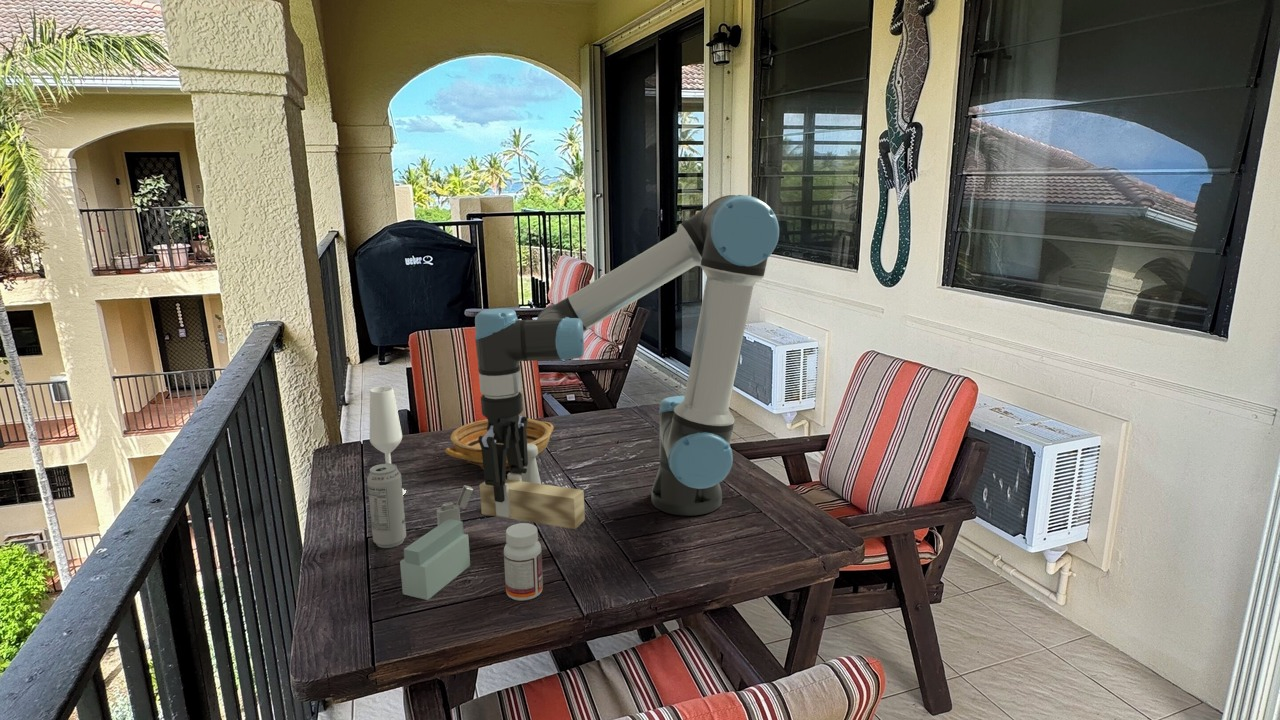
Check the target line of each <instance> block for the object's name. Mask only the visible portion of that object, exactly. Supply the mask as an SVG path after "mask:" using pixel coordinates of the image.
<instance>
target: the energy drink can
mask: <svg viewBox="0 0 1280 720" xmlns="http://www.w3.org/2000/svg"><path fill="white" fill-rule="evenodd" d="M366 482H367V490H368V491H367V492H368V494H367V495H368V501H369V502H368V503H369V512H370V522H371V532H372V534H371V535H372V541H373V543H374V544H376V546H377V547H378V548H382V549H391V548H395V547H398V546H400V545H402V544H403V542H404V540H405V539H406V537H407V528H406V516H405V514H406V513H405V506H404V505H405V504H404V496H403V491H402V488H403V484H402V483H403V481H402V474H401V472H400V471H399V470H398V466H397V464H394V463H391V464H390V463H386V462H385V463H380V464H376V465H373V466H372V467H371V468H369V473H368V476H367V478H366Z"/></svg>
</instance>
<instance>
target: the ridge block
mask: <svg viewBox="0 0 1280 720" xmlns="http://www.w3.org/2000/svg"><path fill="white" fill-rule="evenodd" d="M469 544H470V542H469V534H466V533H464V522H463V521H462V520H460V521H458V520H453V519H447V520H446V521H444V522H443V523H441V524H440V525H438V524H437V525H436V526H435V527H434V528H432V529H431V530H430V531H428V532H427V533H425V534H424V535H422V536H420V537H419V538H417V539H416V540H415V541H414V542H413V541H412V543H411V544H409V545H408V546H406V547H405V548H403V557H404V558H403V559H401V560H400V561H399V564H400V567H399V569H400V577H401V578H400V579H401V585H402V586H401V589H402V595H405V596H409V597H414V598H416V599H417V598H418V599H420V600H421V599H422V600H424V601H425V600H426V601H428V600H430V599H431V598H433V597H434V596H435V595H436V594H438V592H440V591H441V590H442V589H443V588H444V587H446V586H447V585H448V584H450V583H451V582H452V581H453V580H455V579H456V578H457V577H458V576H459V575H461V574H462V573H463V572H465V571H466V570H467V569H468V568H469V567H471V558H470V555H471V554H470V545H469Z"/></svg>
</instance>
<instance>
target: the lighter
mask: <svg viewBox="0 0 1280 720" xmlns="http://www.w3.org/2000/svg"><path fill="white" fill-rule="evenodd" d="M473 490H474V489H473V487H471V486H470V485H465V484H464V485H463V486H462V489H461V492H460V493H459V496H458V500H457V502H456V504H454V503H453V502H452V501H449V502H446V503H442V505H441V506H440V508H438V509H436V518H437V519H436V520H437V526H438V525H440V524H441V523H443V522H444V521H446V520H447V519H453V520H458V521H461V511H460V508H462V509H466V508H467V505H468V504H469V501H470V498H471V495H472V494H473Z"/></svg>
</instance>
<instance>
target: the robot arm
mask: <svg viewBox="0 0 1280 720" xmlns="http://www.w3.org/2000/svg"><path fill="white" fill-rule="evenodd" d="M779 237H780V226H779V221H778V219H777V216H776V214H775V212H774V211H773V209H772V208H771V206H769V205H768V204H767V203H765V202H764V201H762V200H761V199H759V198H757V197H755V196H751V195H744V194H743V195H742V194H737V195H735V194H733V195H730V194H729V195H723V196H721V197H718V198H716V199H715V200H713V201H712V202H710V203H709V204H707V205H706V206H704V207H703V208H702V209H701V210H699V211H698V212H696V213H695V214H694V215H692V216H691V217H689V218H687V219H686V220H685V221H683V222H681V223H679V224H678V226H677V231H676V232H674V233H673V234H671V235H670V236H668V237H666V238H665V239H663V240H661V241H660V242H658V243H656V244H654V245H653V246H651V247H649V248H647V249H646V250H644V251H643V252H642V253H640V254H637V255H636V256H635V257H633V258H630V259H629V260H628V261H626V262H624V263H623V264H621V265H619V266H618V267H616V268H614V269H613V270H610V271H609V272H607V273H606V274H604V275H602V276H601V277H599V278H596V280H594V281H592V282H590V283H589V284H587V285H585V286H584V287H582V288H581V289H579V290H577V291H575V292H574V293H572V294H571V295H570V294H569V295H568V296H567V297H565V298H564V299H562V300H560V301H558V302H557V303H554V304H550V305H549V306H546V307H545V308H543V309H542V310H541V311H540V312H539V314H538V315H537V318H536V319H518V316H517V313H516V311H515V310H514V309H512V308H500V307H499V308H489V309H484V310H481V311H479V312H478V313H477V314H476V315H475V318H474V324H475V325H474V327H475V329H474V330H475V336H474V339H475V347H476V349H475V350H476V357H477V368H478V376H479V377H478V379H479V391H480V394H481V396H480V407H481V413H482V415H483V416H484V418H486V419H488V425H487V431H488V432H487V433H486V434H485V436H479V439H478V441H479V443H480V446H481V450H482V459H483V468H484V469H483V468H482V469H483V476H484V481H485V484H486V485H490V486H493V487H494V496H495V497H494V499H495V504H496V515H497V516H503V517H510V516H511V512H510V499H509V485H508V484H507V483H505V481H506V478H507V479H508V480H515V481H522V473H526V472H527V469H525V468H524V466H527V465H528V453H527V432H526V428H527V418H528V417H527V416H521V415H520V414H522V412H524V411H523V410H524V406H523V394H522V393H521V391H522V389H523V388H522V387H523V386H522V377H521V364H520V362H534V361H559V360H561V361H568V360H573V359H575V360H576V359H580V358H582V357H583V356H584V354H585V344H584V343H585V341H584V340H585V339H584V337H585V336H584V332H585V331H587V330H588V329H590V328H591V327H594V326H595V325H597V324H599V323H600V322H602V321H604V320H606V319H607V318H608V317H610V316H612V315H614V314H616V313H617V312H619V311H621V310H623V309H624V308H626V307H627V306H629V305H631V304H633V303H634V302H636V301H638V300H640V299H641V298H643V297H644V296H646V295H649V293H650V294H651V292H653V291H655V290H656V289H658V288H661V286H664V284H667V283H669V282H670V281H672V280H674V279H675V278H677V277H679V276H681V275H682V274H684V273H686V272H688V271H689V270H691V269H692V268H694V267H697V266H698V267H700V268H701V269H702V271H703V272H704V274H705V276H706V279H705V285H704V290H703V291H704V292H703V296H702V302H701V307H700V311H699V317H698V323H697V328H696V333H695V339H694V343H693V350H692V354H691V360H690V364H689V365H690V366H689V372H688V377H687V382H686V387H685V391H684V392H685V393H684V395H677V396H676V395H675V396H674V395H673V396H669V397H665V398H664V399H662V400H661V401H660V403H659V411H658V415H659V467H658V470H657V472H656V476H655V478H654V481H653V483H652V484H653V485H652V487H651V491H650V492H651V493H650V494H651V495H650V497H651V500H650V501H651V505H653V506H654V508H656V509H658V510H660V511H662V512H664V513H667V514H671V515H676V516H685V517H686V516H687V517H688V516H700V515H705V514H710V513H712V512H714V511H716V510H717V509H719V508H720V507H721V506H722V502H723V492H722V488H721V485H720V483H721V482H723V481H724V480H725V479H726V478H727V476H728V475H729V474H730V472H731V469H732V467H733V463H734V462H733V460H734V459H733V450H732V448H731V441H732V435H733V432H734V431H733V430H734V426H735V419H736V418H735V417H734V416H733V414H732V413H731V411H730V404H731V399H732V393H733V389H734V384H735V381H736V380H735V379H736V375H737V369H738V364H739V360H740V354H741V350H742V349H741V348H742V345H743V340H744V339H743V338H744V334H745V330H746V326H747V325H746V324H747V319H748V314H749V309H750V305H751V300H752V295H753V289H754V286H755V285H756V283H758V282H759V281H760V280H762V279H764V277H765V273H766V268H767V263H768V258H769V257H770V256H771V255H772V253H773V252H774V250H775V249H776V246H777V245H778V242H779ZM497 443H499V444H497ZM506 455H507V460H508V465H509V469H510V470H509V472H508V473H507V471H506ZM522 459H523V460H522ZM506 473H507V474H506ZM506 476H507V477H506ZM497 516H496V517H497ZM503 517H502V518H503Z"/></svg>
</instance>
